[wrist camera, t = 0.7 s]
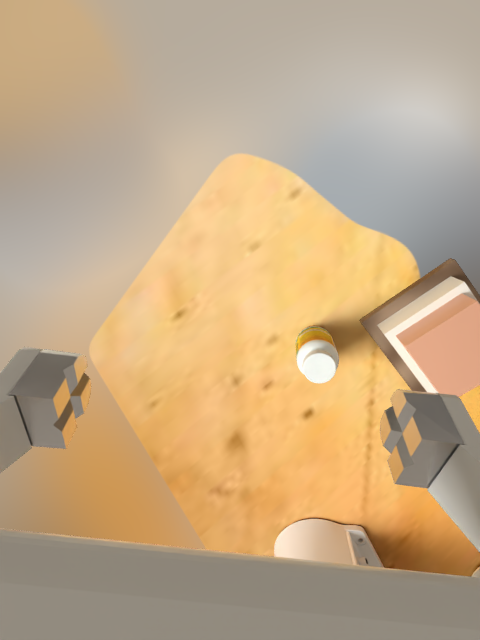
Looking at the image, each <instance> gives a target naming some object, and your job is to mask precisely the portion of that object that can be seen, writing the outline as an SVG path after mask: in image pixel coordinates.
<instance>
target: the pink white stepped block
mask: <svg viewBox="0 0 480 640" xmlns="http://www.w3.org/2000/svg"><path fill="white" fill-rule="evenodd" d="M377 326H378V327H379V329H380V330H381V331H382V333H383V334H384V335H385V337H386V338H387V339H388V341H389V342H390V343H391V345H392V346H393V347H394V349H395V350H396V351H397V353H398V354H399V355H400V357H401V358H402V359H403V361H404V362H405V363H406V365H407V366H408V367H409V369H410V370H411V371H412V373H413V374H414V375H415V377H416V378H417V379H418V381H419V382H420V383H421V385H422V386H423V387H424V389H425V390H426V391H427V392H429V393H440V394H450V395H456V396H457V397H459V396H461V395H463V394H465V393H466V392H468V391H470V390H472V389H473V388H475V387H477V386H479V385H480V304H479V302H478V301H477V299H476V298H475V296H474V295H473V293H472V292H471V290H470V289H469V288H468V286H467V285H466V283H465V282H464V281H461V280H459V279H457V278H454V277H452V276H450V277H449V278H447V279H446V280H444V281H443V282H441V283H440V284H438V285H437V286H435V287H434V288H432V289H431V290H429V291H428V292H426V293H425V294H423V295H422V296H420V297H419V298H417V299H416V300H414V301H413V302H411V303H410V304H408V305H407V306H405V307H404V308H402V309H401V310H399V311H398V312H396V313H395V314H393V315H392V316H390V317H389V318H387V319H386V320H384V321H382V322H381V323H379V324H378V325H377Z"/></svg>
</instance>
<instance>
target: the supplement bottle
mask: <svg viewBox="0 0 480 640" xmlns="http://www.w3.org/2000/svg"><path fill="white" fill-rule="evenodd" d="M296 357H297V365H298V367H299V369H300V371H301V372H302V373H303V374H304V375H305V376H306V378H307V379H308V380H310V381H312V382H314V383H325V382H327V381H329V380H330V379H332V377H333V376H334V375H335V372H336V369H337V367H338V364H339V356H338V352H337V350H336V347H335V344H334V341H333V339H332V336H331V335H330V333H329V332H328V331H327V330H325V329H323V328H321V327H317V326H311V327H307V328H305V329H304V330H302V331H301V332H300V333H299V335H298V337H297V339H296Z"/></svg>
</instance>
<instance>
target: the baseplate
mask: <svg viewBox="0 0 480 640" xmlns="http://www.w3.org/2000/svg"><path fill="white" fill-rule="evenodd" d="M450 276H452V277H454V278H457V279H459V280H461V281H464V282H465V283H466V285H467V286H468V288H469V289H470V290H471V292H472V293H473V295H474V296H475V298H476V299H477V301H478V302H479V304H480V296H479V294H478V293H477V291H476V290H475V288H474V287H473V285H472V284H471V282H470V281H469V279H468V278H467V276H466V275H465V274H464V272H463V271H462V269H461V268H460V266H459V265H458V263H457V262H456V260H454V259H451V258H450V259H448V260H447V261H446V262H444V263H443V264H441V265H440V266H438V267H437V268H435V269H434V270H432V271H431V272H429V273H428V274H426V275H425V276H424V277H422V278H420V279H419V280H418V281H416V282H415V283H413V284H412V285H410V286H409V287H407V288H406V289H404V290H403V291H401V292H400V293H398V294H397V295H395V296H394V297H392V298H391V299H390V300H388V301H387V302H385V303H384V304H382V305H381V306H379V307H378V308H376V309H375V310H373V311H372V312H370V313H369V314H367V315H366V316H364V317H363V318H362V319H360V322H361V323H362V325H363V326H364V327H365V329H366V330H367V331H368V333H369V334H370V335H371V337H372V338H373V339H374V341H375V342H376V343H377V345H378V346H379V347H380V349H381V350H382V351H383V353H384V354H385V355H386V357H387V358H388V359H389V361H390V362H391V363H392V365H393V366H394V367H395V369H396V370H397V371H398V373H399V374H400V375H401V377H402V378H403V379H404V380H405V382H406V383H407V384H408V386H409V387H410V388H411V390H412V391H419V392H427V391H426V390H425V389H424V387H423V386H422V385H421V383H420V382H419V381H418V379H417V378H416V377H415V375H414V374H413V373H412V371H411V370H410V369H409V367H408V366H407V365H406V363H405V362H404V361H403V359H402V358H401V357H400V355H399V354H398V353H397V351H396V350H395V349H394V347H393V346H392V345H391V343H390V342H389V341H388V339H387V338H386V337H385V335H384V334H383V333H382V331H381V330H380V329H379V327H378V326H377V325H378V324H379V323H381V322H382V321H384V320H386V319H387V318H389V317H390V316H392V315H393V314H395V313H396V312H398V311H399V310H401V309H402V308H404V307H405V306H407V305H408V304H410V303H411V302H413V301H414V300H416V299H417V298H419V297H420V296H422V295H423V294H425V293H426V292H428V291H429V290H431V289H432V288H434V287H435V286H437V285H438V284H440V283H441V282H443V281H444V280H446V279H447V278H449V277H450Z"/></svg>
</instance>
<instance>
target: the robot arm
mask: <svg viewBox="0 0 480 640" xmlns="http://www.w3.org/2000/svg"><path fill="white" fill-rule="evenodd" d="M86 368H87V361H86V356H84V355H82V354H76V353H69V352H61V351H54V350H47V349H44V350H43V349H36V348H29V347H24V348H22V349H20V350H19V351H18V352H17V353H16V354H15V355H14V357H13V358H12V359H11V360H10V362H9V363H8V364H7V365H6V367H5V368H4V369H3V370H2V372H1V373H0V473H1V472H2V471H4V470H5V469H6V468H8V467H9V466H10V465H11V464H12V463H14V462H15V461H16V460H17V459H19V458H20V457H21V456H23V455H24V454H25V453H26V452H28V451H29V450H30V449H31V448H32V447H31V446H36V447H49V448H63V449H66V448H67V447H68V444H69V442H70V440H71V438H72V436H73V434H74V432H75V430H76V428H77V424H76V420H75V419H76V418H77V417H79V416H80V415H82V414H83V413H84V412H85V410H86V407H87V405H88V402H89V398H90V394H91V383H90V378H89V377H88V376H87V375H86V374H85V373H84V372H85V369H86ZM391 402H392V405H393V406H392V407H390V408H388V409H387V410H385V411H384V414H383V416H382V418H381V425H380V434H381V440H382V443H383V446H384V447H385V448H386V449H387V450H388V451H389V452H390V453H391V455H390V457H389V459H388V464H389V467H390V470H391V474H392V477H393V480H394V483H395V484H399V485H406V486H414V487H421V488H428V491H429V493H430V494H431V495H432V496H433V497H434V499H435V500H436V501H437V502H438V503H439V505H440V506H441V507H442V508H443V509H444V510H445V512H446V513H447V514H448V515H449V516H450V518H451V519H452V520H453V521H454V522H455V524H456V525H457V526H458V527H459V528H460V530H461V531H462V532H463V533H464V534H465V536H466V537H467V538H468V539H469V540H470V541H471V543H472V544H473V545H474V546H475V547H476V549H477V550H478V551H479V552H480V433H479V432H478V430H477V428H476V426H475V424H474V423H473V421H472V419H471V417H470V415H469V414H468V412H467V410H466V408H465V407H464V405H463V403H462V401H461V399H460V398H459V397H457V396H456V395H450V394H440V393H429V392H419V391H409V390H400V389H398V390H396V391H395V392H394V393H393V395H392V397H391ZM360 538H361V539H360ZM274 555H275V556H265V555H255V554H246V553H236V552H226V551H216V550H207V549H196V548H186V547H177V546H167V545H157V544H148V543H138V542H127V541H118V540H108V539H98V538H88V537H78V536H68V535H58V534H49V533H39V532H29V531H20V530H9V529H0V640H480V567H479V568H478V569H477V570H475V571H474V573H473V574H472V576H471V577H470V576H460V575H450V574H440V573H431V572H421V571H411V570H401V569H392V568H384V566H383V564H382V562H381V560H380V558H379V556H378V555H377V553H376V551H375V549H374V547H373V545H372V543H371V541H370V539H369V538H368V536H367V534H366V532H365V530H364V529H363V528H362V527H361V526H357V525H341V524H337V523H334V522H331V521H328V520H323V519H306V520H301V521H298V522H295V523H293V524H291V525H289V526H288V527H286V528H285V529H284V530H283V531H282V532H281V533H280V534H279V536H278V537H277V539H276V542H275V546H274Z"/></svg>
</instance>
